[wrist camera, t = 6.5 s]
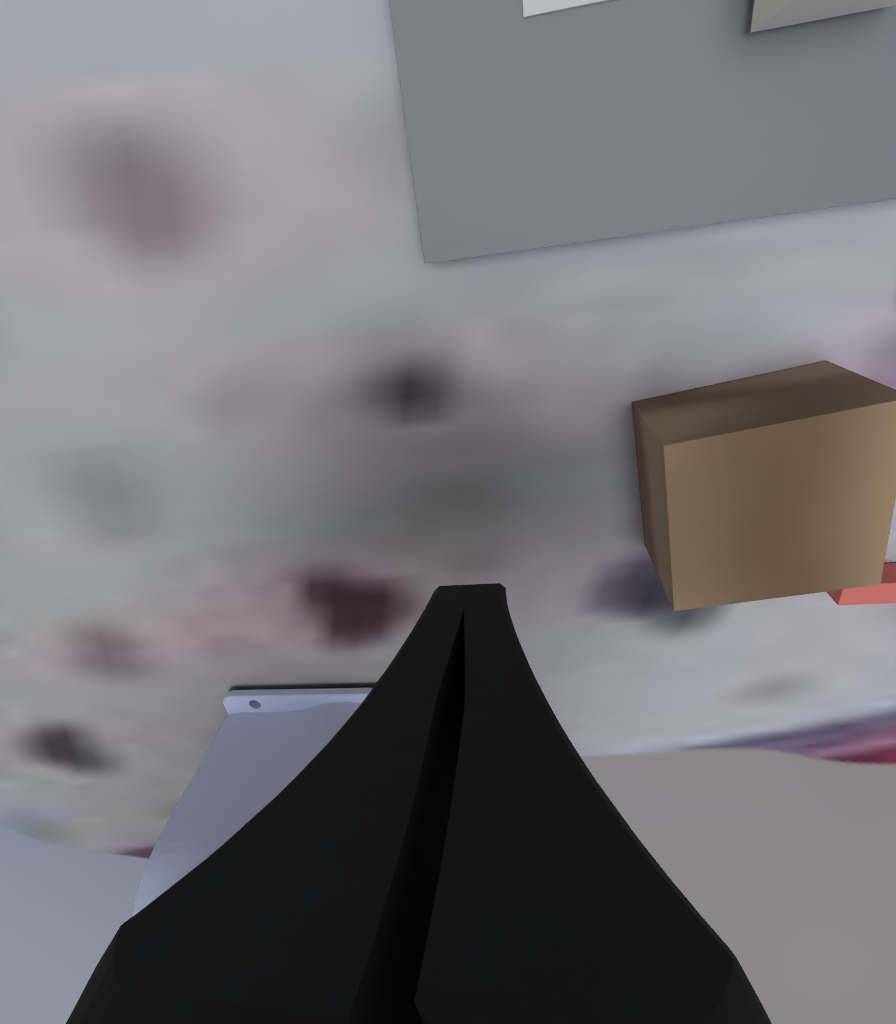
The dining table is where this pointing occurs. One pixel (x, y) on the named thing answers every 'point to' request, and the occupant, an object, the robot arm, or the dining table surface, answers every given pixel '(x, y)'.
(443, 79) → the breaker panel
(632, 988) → the robot arm
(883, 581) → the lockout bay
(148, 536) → the dining table surface
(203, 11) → the dining table surface
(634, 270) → the dining table surface
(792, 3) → the switch
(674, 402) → the block
